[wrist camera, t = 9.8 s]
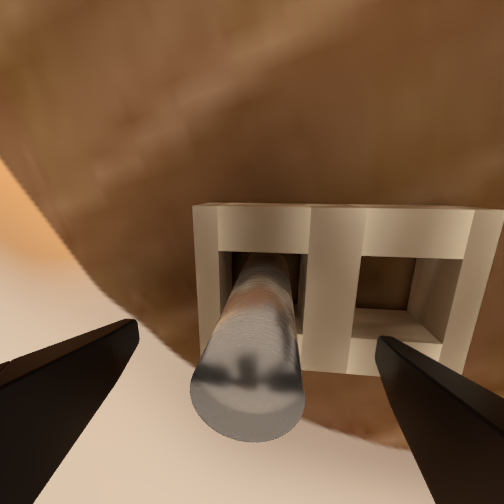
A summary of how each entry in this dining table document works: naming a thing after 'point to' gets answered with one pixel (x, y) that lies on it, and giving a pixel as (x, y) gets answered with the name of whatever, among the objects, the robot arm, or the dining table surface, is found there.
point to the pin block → (356, 273)
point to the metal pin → (253, 358)
